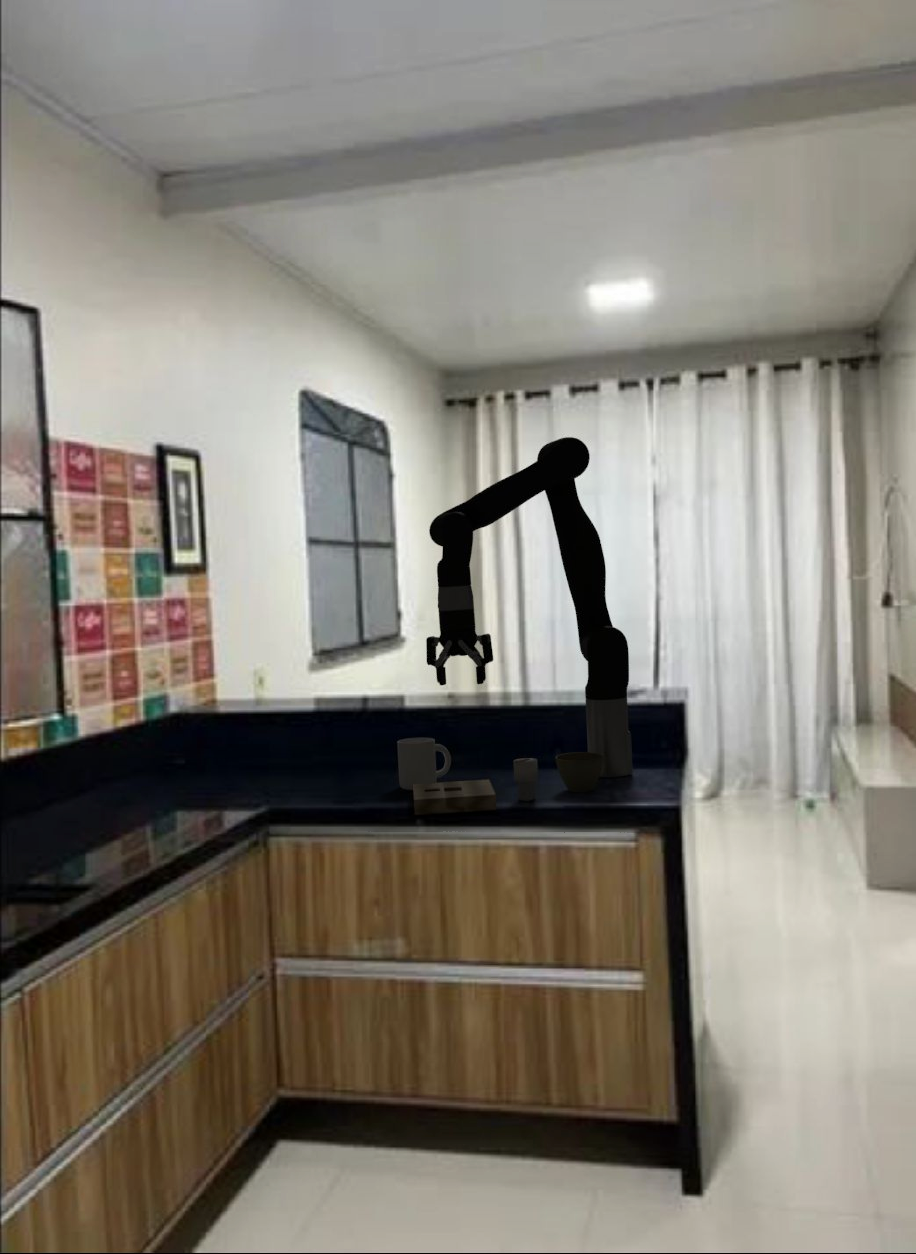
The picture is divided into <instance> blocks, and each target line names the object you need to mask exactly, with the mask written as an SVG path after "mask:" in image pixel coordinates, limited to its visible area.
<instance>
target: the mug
mask: <svg viewBox="0 0 916 1254" xmlns="http://www.w3.org/2000/svg"><path fill="white" fill-rule="evenodd" d="M396 745H397V764H398V765H397V767H398V779H399V780H398V781H399V787H400V788H401V789H402V790H405V791H406V790H408V791H413V784H424V783H438V782H437V779H438V778H440V777H444V775H446V774H447V773H448V771H450V768H451V764H452V757H451V754H450V752H449V750H448V749H447V748H446V747H445V746H444V745H442V744H440V743H436V739H435V738H432V737H409V738H408V737H407V738H404V739H403V738H402V739H400V740H398V741H396ZM436 752H441V753H442V754H443V757H444V765H443V767H442V769H441V768H440V769H439V770H437V761H436V760H437V758H436V756H437V755H436Z"/></svg>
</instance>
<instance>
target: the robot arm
mask: <svg viewBox="0 0 916 1254" xmlns="http://www.w3.org/2000/svg"><path fill="white" fill-rule="evenodd" d="M590 457H591V454H590V451H589V449H588V447H587V445H586V444H585V443H584V442H583V441H582V440H581V439H580V438H576V437H573V436H571V437H570V436H567V437H566V436H565V437H561V438H559V439H556V440H554V441H550V442H547V443H546V444H545V445H543V446H542V447H541V448H540V449H539V452H538V454H537V458H536V459H537V460H536V461H535V462H533V463H531V464H530V465H528V466H527V467H525V468H523V469H521V470H519V471H517V472H515V473H513V474H511V475H509V476H507V477H505V478H503V479H501V480H498V481H497V482H495V483H493V484H491V485H489V486H488V487H486V488H484V489H483V490H481V491H480V492H478V493H476V494H475V495H474V496H473V495H472V497H471V498H469V499H468V500H466V501H463V502H462V503H459V504H457V505H455V506H454V507H450V508H449V509H448V510H446V511H444V512H442V513H441V514H438V515H437V516H436V517H435V518H433V520H432V521H431V523H430V525H429V530H428V531H429V533H428V534H429V536H430V539H431V540H432V542H434V544H436V545H437V546H440V547H442V555H441V559H440V560H439V561H438V562H437V565H436V574H437V609H438V621H439V631H440V632H439V633H440V635H439V636H433V635H432V636H428V637H426V642H425V643H426V664H427V665H428V666H431V667H432V666H433V667H434V668H435V672H436V673H435V674H436V682H437V683H438V684H439V686H446V685H447V676H446V675H447V673H446V670H447V669H446V666H445V664H446V663H447V661H448V659H450V657H456V656H461V657H466V656H468V658H470V659H471V660H472V661H473V662H474V664H475V665H476V666H475V673H476V674H475V677H476V684H477V685H482V684H484V682H485V681H486V679H487V676H486V675H487V674H486V665H488V664H489V663H492V662H493V661H494V652H493V646H492V645H493V644H492V636H491V634H490V633H485V634H480V635H478V634H477V632H476V616H475V600H474V593H473V592H474V591H473V587H472V575H471V573H472V572H471V560H472V559H471V558H472V553H473V545H474V544H473V543H474V532H475V531H477V530H479V529H481V528H486V527H487V526H490V525H492V524H494V523H495V522H497V521H498V520H500V519H502V518H503V517H505V516H506V515H508V514H509V513H511V512H513V511H514V510H516V509H517V508H519V507H521V506H522V505H523V504H525V503H526V502H528V501H529V500H531V499H533V498H534V497H536V496H538V495H539V494H540V493H542V492H545V495H546V498H547V501H548V504H549V508H550V512H551V517H552V520H553V525H554V526H553V527H554V529H555V533H556V537H557V543H558V546H559V553H560V557H561V562H562V565H563V566H562V567H563V570H564V573H565V578H566V582H567V586H568V590H569V593H570V595H571V600H572V603H573V607H574V610H575V617H576V625H577V633H578V643H579V650H580V653H581V655H582V656H583V658H584V659H585V661H587V682H586V685H585V687H584V688H585V689H584V690H585V691H584V693H585V695H584V696H585V714H586V716H585V717H586V737H587V752H591V753H598V754H602V755H603V765H602V769H601V773H600V776H599V778H618V777H625V776H630V775H633V773H634V770H633V752H632V751H633V750H632V747H633V746H632V733H631V731H629V710H628V709H629V708H628V707H629V706H628V686H629V682H630V665H629V663H630V656H629V654H630V653H629V646H628V645H629V644H628V640H627V638H626V636H625V634H624V633H623V632H622V630H620V629H619V628H617V627H614V626H613V623H612V620H611V616H610V613H609V610H608V605H607V600H606V585H607V584H606V583H607V582H606V581H607V577H606V575H607V573H606V572H607V571H606V568H607V567H606V561H605V556H604V550H603V546H602V543H601V542H602V541H601V538H600V534H599V533H598V531H597V529H596V527H595V525H594V523H593V522H592V520H591V518H590V516H588V514H587V513H586V511H585V509H584V508H583V507H584V506H583V505H582V503H581V501H580V498H579V495H578V490H577V485H576V480H575V479H576V478H578V477H580V476H581V475H583V473H584V472H585V471H586V470H587V468H588V466H589V465H590V459H591V458H590ZM478 642H479V645H481V648H482V654H483V656H482V654H481V652H480V651H479V649H477V647H476V645H477V643H478ZM439 644H440V645H441V647H442V650H441V652H440V653H439V656H438V658H437V647H438V646H439Z"/></svg>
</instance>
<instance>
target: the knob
mask: <svg viewBox="0 0 916 1254" xmlns="http://www.w3.org/2000/svg"><path fill="white" fill-rule="evenodd" d="M513 775H514V776H513V778H514V781H515V782H517V785H518V787H517V788H518V789H517V790H518V800H519V801H524V802H528V801H533V799H534V800H537V799H536V782H537V781H538V780H539V768H538V759H537V758H531V757H530V758H529V757H528V758H527V757H526V758H523V757H522V758H517V759H514V760H513Z"/></svg>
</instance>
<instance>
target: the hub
mask: <svg viewBox="0 0 916 1254" xmlns="http://www.w3.org/2000/svg"><path fill="white" fill-rule="evenodd" d="M412 792H413V808H414V815H415V816H419V815H423V816H424V815H433V814H434V815H436V814H437V815H438V814H450V813H467V812H481V811H482V812H483V811H484V812H486V811H497V795H496V794H497V793H496V792H495V790H494V788H493V785H492V783H491V781H490V779H478V780H477V779H476V780H473V779H472V780H460V781H459V780H458V781H443V782H437V783H424V784H413V790H412Z"/></svg>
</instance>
